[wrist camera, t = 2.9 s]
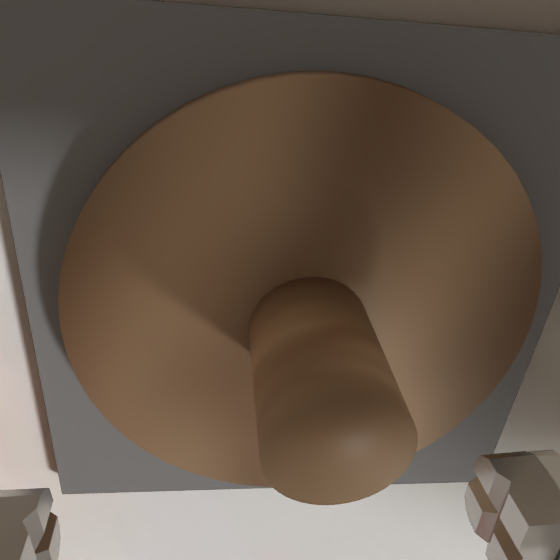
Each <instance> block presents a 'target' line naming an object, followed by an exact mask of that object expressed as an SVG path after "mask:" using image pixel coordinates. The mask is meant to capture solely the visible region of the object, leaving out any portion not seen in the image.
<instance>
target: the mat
mask: <svg viewBox="0 0 560 560" xmlns="http://www.w3.org/2000/svg"><path fill="white" fill-rule="evenodd" d="M291 71H337V72H344V73H351V74H359V75H366V76H370V77H374V78H377V79H381V80H384V81H388V82H391V83H395V84H398V85H401V86H404V87H406V88H408V89H410V90H412V91H414V92H417V93H419V94H421V95H423V96H425V97H427V98H430V99H432V100H433V101H435V102H437V103H438V104H440V105H442V106H443V107H445V108H447V109H448V110H450V111H451V112H453V113H454V114H456V115H457V116H459V117H460V118H462V119H463V120H465V121H466V122H468V123H469V124H471V125H472V126H474V127H475V128H476V129H477V130H478V131H479V132H480V133H481V134H482V135H483V136H484V137H485V138H486V139H488V140H489V141H490V142H491V143H492V144H493V145H494V146H495V147H496V148H497V149H498V150H499V152H500V153H501V154H502V155H503V157H504V158H505V159H506V161H507V162H508V163H509V165H510V166H511V167H512V169H513V170H514V171H515V172H516V174H517V176H518V178H519V180H520V182H521V184H522V186H523V188H524V190H525V192H526V193H527V195H528V197H529V200H530V203H531V206H532V209H533V212H534V215H535V218H536V221H537V224H538V230H539V237H540V243H541V250H542V279H541V285H540V292H539V298H538V304H537V308H536V311H535V314H534V317H533V321H532V324H531V327H530V330H529V332H528V334H527V336H526V339H525V341H524V343H523V345H522V347H521V350H520V352H519V354H518V355H517V357H516V358H515V360H514V362H513V363H512V365H511V367H510V368H509V370H508V372H507V373H506V375H505V376H504V377H503V378H502V380H501V381H500V382H499V384H498V385H497V386H496V387H495V389H494V390H493V391H492V393H491V394H490V395H489V396H488V397H487V398H486V399H485V400H484V401H483V402H482V403H481V404H480V405H479V406H478V407H477V408H476V409H475V410H474V411H473V412H472V413H471V414H470V415H469V416H468V417H467V418H465V419H464V420H463V421H462V422H461V423H459V424H458V425H457V426H456V427H455V428H453V429H452V430H451V431H449V432H448V433H446V434H445V435H443V436H442V437H441V438H439V439H438V440H436V441H435V442H433V443H432V444H430V445H428V446H426V447H425V448H423V449H421V450H419V451H418V452H416V453H415V456H414V458H413V460H412V462H411V464H410V465H409V467H408V468H407V469H406V471H405V472H404V473H403V474H402V475H401V476H400V477H399V478H398V479H397V480H395V481H394V482H393V483H392V484H415V483H449V482H471V481H472V480H473V479H474V478H475V477H476V476H477V475H476V473H475V471H474V469H473V467H474V464H475V461H476V459H477V458H478V457H479V456H481V455H489V454H493V453H494V450H495V448H496V445H497V443H498V440H499V438H500V435H501V432H502V430H503V427H504V425H505V422H506V420H507V417H508V415H509V412H510V410H511V407H512V405H513V402H514V400H515V397H516V395H517V392H518V390H519V387H520V385H521V382H522V380H523V377H524V375H525V372H526V370H527V367H528V365H529V362H530V360H531V357H532V355H533V352H534V349H535V347H536V344H537V342H538V339H539V337H540V334H541V332H542V329H543V327H544V324H545V322H546V319H547V317H548V314H549V312H550V309H551V307H552V304H553V302H554V299H555V297H556V294H557V292H558V289H559V287H560V34H550V33H538V32H526V31H514V30H502V29H490V28H478V27H466V26H454V25H442V24H430V23H418V22H406V21H394V20H382V19H370V18H358V17H346V16H334V15H322V14H310V13H298V12H286V11H274V10H262V9H249V8H237V7H225V6H213V5H201V4H189V3H177V2H165V1H153V0H0V171H1V176H2V182H3V187H4V192H5V197H6V203H7V208H8V213H9V218H10V224H11V229H12V234H13V239H14V245H15V250H16V255H17V260H18V265H19V271H20V276H21V281H22V286H23V292H24V297H25V302H26V307H27V313H28V318H29V323H30V328H31V334H32V339H33V344H34V349H35V355H36V360H37V365H38V370H39V375H40V381H41V386H42V391H43V396H44V402H45V407H46V412H47V417H48V423H49V428H50V433H51V438H52V444H53V449H54V454H55V459H56V465H57V470H58V475H59V480H60V485H61V491H62V494H83V493H116V492H150V491H183V490H216V489H249V488H273V487H262V486H252V485H242V484H235V483H230V482H225V481H220V480H214V479H211V478H208V477H204V476H201V475H198V474H194V473H191V472H188V471H186V470H183V469H181V468H179V467H176V466H174V465H171V464H169V463H167V462H165V461H163V460H161V459H159V458H158V457H156V456H154V455H152V454H150V453H148V452H147V451H145V450H144V449H142V448H141V447H139V446H138V445H137V444H135V443H134V442H132V441H131V440H130V439H128V438H127V437H125V436H124V435H123V434H122V433H121V432H120V431H119V430H118V429H117V428H115V427H114V426H113V425H112V424H111V423H110V422H109V421H108V420H107V419H106V418H105V417H104V416H103V414H102V413H101V412H100V411H99V410H98V408H97V407H96V406H95V405H94V404H93V402H92V401H91V400H90V399H89V397H88V395H87V394H86V392H85V390H84V389H83V387H82V386H81V384H80V382H79V381H78V379H77V377H76V375H75V372H74V370H73V368H72V365H71V363H70V361H69V358H68V356H67V353H66V349H65V345H64V341H63V337H62V333H61V329H60V320H59V307H58V293H59V281H60V271H61V267H62V263H63V259H64V255H65V251H66V247H67V243H68V240H69V238H70V235H71V233H72V231H73V229H74V226H75V224H76V222H77V219H78V217H79V215H80V212H81V211H82V209H83V207H84V205H85V204H86V202H87V200H88V198H89V197H90V195H91V194H92V192H93V191H94V189H95V187H96V186H97V184H98V183H99V181H100V179H101V178H102V176H103V175H104V173H105V172H106V170H107V169H108V168H109V167H110V166H111V165H112V163H113V162H114V161H115V160H116V159H117V158H118V157H119V155H120V154H121V153H122V152H123V151H124V150H125V148H126V147H127V146H128V145H129V144H130V143H132V142H133V141H134V140H135V139H136V138H137V137H139V136H140V135H141V134H142V133H143V132H144V131H146V130H147V129H148V128H149V127H150V126H151V125H153V124H154V123H155V122H156V121H158V120H160V119H161V118H163V117H164V116H166V115H168V114H169V113H171V112H172V111H174V110H175V109H177V108H179V107H180V106H182V105H183V104H185V103H187V102H189V101H191V100H193V99H195V98H198V97H200V96H202V95H204V94H207V93H209V92H211V91H213V90H215V89H218V88H220V87H223V86H226V85H230V84H233V83H237V82H240V81H243V80H247V79H250V78H254V77H258V76H264V75H271V74H278V73H285V72H291Z"/></svg>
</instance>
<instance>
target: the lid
mask: <svg viewBox="0 0 560 560" xmlns="http://www.w3.org/2000/svg"><path fill="white" fill-rule="evenodd" d="M541 279H542V250H541V243H540V237H539V230H538V224H537V221H536V218H535V215H534V212H533V209H532V206H531V203H530V200H529V197H528V195H527V193H526V192H525V190H524V188H523V186H522V184H521V182H520V180H519V178H518V176H517V174H516V172H515V171H514V170H513V169H512V167H511V166H510V165H509V163H508V162H507V161H506V159H505V158H504V157H503V155H502V154H501V153H500V152H499V150H498V149H497V148H496V147H495V146H494V145H493V144H492V143H491V142H490V141H489V140H488V139H486V138H485V137H484V136H483V135H482V134H481V133H480V132H479V131H478V130H477V129H476V128H475V127H474V126H472V125H471V124H469V123H468V122H466V121H465V120H463V119H462V118H460V117H459V116H457V115H456V114H454V113H453V112H451V111H450V110H448V109H447V108H445V107H443V106H442V105H440V104H438V103H437V102H435V101H433V100H432V99H430V98H427V97H425V96H423V95H421V94H419V93H417V92H414V91H412V90H410V89H408V88H406V87H404V86H401V85H398V84H395V83H391V82H388V81H384V80H381V79H377V78H374V77H370V76H366V75H359V74H351V73H344V72H337V71H291V72H285V73H278V74H271V75H264V76H258V77H254V78H250V79H247V80H243V81H240V82H237V83H233V84H230V85H226V86H223V87H220V88H218V89H215V90H213V91H211V92H209V93H207V94H204V95H202V96H200V97H198V98H195V99H193V100H191V101H189V102H187V103H185V104H183V105H182V106H180V107H179V108H177V109H175V110H174V111H172V112H171V113H169V114H168V115H166V116H164V117H163V118H161V119H160V120H158V121H156V122H155V123H154V124H153V125H151V126H150V127H149V128H148V129H147V130H146V131H144V132H143V133H142V134H141V135H140V136H139V137H137V138H136V139H135V140H134V141H133V142H132V143H130V144H129V145H128V146H127V147H126V148H125V150H124V151H123V152H122V153H121V154H120V155H119V157H118V158H117V159H116V160H115V161H114V162H113V163H112V165H111V166H110V167H109V168H108V169H107V170H106V172H105V173H104V175H103V176H102V178H101V179H100V181H99V183H98V184H97V186H96V187H95V189H94V191H93V192H92V194H91V195H90V197H89V198H88V200H87V202H86V204H85V205H84V207H83V209H82V211H81V212H80V215H79V217H78V219H77V222H76V224H75V226H74V229H73V231H72V233H71V235H70V238H69V240H68V243H67V247H66V251H65V255H64V259H63V263H62V267H61V271H60V281H59V293H58V307H59V320H60V329H61V333H62V337H63V341H64V345H65V349H66V353H67V356H68V358H69V361H70V363H71V365H72V368H73V370H74V372H75V375H76V377H77V379H78V381H79V382H80V384H81V386H82V387H83V389H84V390H85V392H86V394H87V395H88V397H89V399H90V400H91V401H92V402H93V404H94V405H95V406H96V407H97V408H98V410H99V411H100V412H101V413H102V414H103V416H104V417H105V418H106V419H107V420H108V421H109V422H110V423H111V424H112V425H113V426H114V427H115V428H117V429H118V430H119V431H120V432H121V433H122V434H123V435H124V436H125V437H127V438H128V439H130V440H131V441H132V442H134V443H135V444H137V445H138V446H139V447H141V448H142V449H144V450H145V451H147V452H148V453H150V454H152V455H154V456H156V457H158V458H159V459H161V460H163V461H165V462H167V463H169V464H171V465H174V466H176V467H179V468H181V469H183V470H186V471H188V472H191V473H194V474H198V475H201V476H204V477H208V478H211V479H214V480H220V481H225V482H230V483H235V484H242V485H252V486H262V487H273V488H274V489H275V490H277V491H278V492H279V493H281V494H283V495H284V496H286V497H288V498H291V499H293V500H296V501H299V502H303V503H308V504H316V505H335V504H343V503H349V502H353V501H357V500H360V499H363V498H366V497H369V496H371V495H373V494H375V493H377V492H379V491H381V490H383V489H385V488H386V487H388V486H389V485H390V484H392V483H393V482H394V481H395V480H397V479H398V478H399V477H400V476H401V475H402V474H403V473H404V472H405V471H406V469H407V468H408V467H409V465H410V464H411V462H412V460H413V458H414V456H415V453H416V452H418V451H419V450H421V449H423V448H425V447H426V446H428V445H430V444H432V443H433V442H435V441H436V440H438V439H439V438H441V437H442V436H443V435H445V434H446V433H448V432H449V431H451V430H452V429H453V428H455V427H456V426H457V425H458V424H459V423H461V422H462V421H463V420H464V419H465V418H467V417H468V416H469V415H470V414H471V413H472V412H473V411H474V410H475V409H476V408H477V407H478V406H479V405H480V404H481V403H482V402H483V401H484V400H485V399H486V398H487V397H488V396H489V395H490V394H491V393H492V391H493V390H494V389H495V387H496V386H497V385H498V384H499V382H500V381H501V380H502V378H503V377H504V376H505V375H506V373H507V372H508V370H509V368H510V367H511V365H512V363H513V362H514V360H515V358H516V357H517V355H518V354H519V352H520V350H521V347H522V345H523V343H524V341H525V339H526V336H527V334H528V332H529V330H530V327H531V324H532V321H533V317H534V314H535V311H536V308H537V304H538V298H539V292H540V285H541Z"/></svg>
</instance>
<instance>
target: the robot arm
mask: <svg viewBox="0 0 560 560" xmlns="http://www.w3.org/2000/svg"><path fill="white" fill-rule="evenodd" d="M473 469H474V471H475V473H476V475H477V476H476V477H475V478H474V479H473V480H472V481H471V482H469V483H468V486H467V490H466V493H465V503H466V511H467V514H468V518H469V521H470V523H471V525H472V527H473V529H474V532H475V533H476V534H477V535H479V536H480V537H481V538H482V539H484V540H485V541H486V542H488V544H487V549H486V556H487V558H488V560H560V454H558V453H557V452H556V451H554V450H543V451H529V452H525V451H523V452H511V453H500V454H489V455H481V456H479V457H478V458H477V459H476V461H475V464H474V467H473ZM52 503H53V498H52V495H51V492H50V489H49V488H37V489H16V490H0V560H58V556H59V547H60V525H59V521H58V517H57V516H56V515H54V514H53V513H51V512H50V510H51V506H52Z"/></svg>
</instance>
